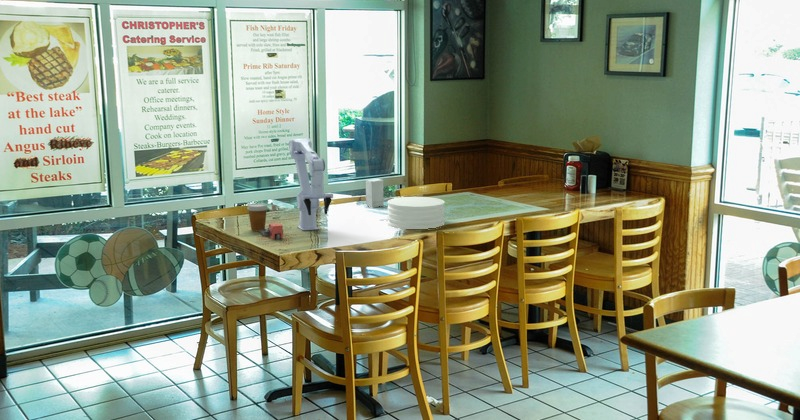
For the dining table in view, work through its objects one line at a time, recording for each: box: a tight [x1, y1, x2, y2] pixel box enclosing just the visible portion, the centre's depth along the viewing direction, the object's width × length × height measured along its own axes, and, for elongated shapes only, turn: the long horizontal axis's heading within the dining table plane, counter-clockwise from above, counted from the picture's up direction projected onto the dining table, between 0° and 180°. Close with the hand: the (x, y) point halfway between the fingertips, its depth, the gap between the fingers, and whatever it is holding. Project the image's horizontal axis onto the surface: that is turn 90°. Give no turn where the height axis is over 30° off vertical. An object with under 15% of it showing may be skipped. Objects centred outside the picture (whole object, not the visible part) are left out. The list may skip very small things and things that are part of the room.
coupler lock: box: [268, 222, 284, 240], centre depth 382 cm, size 7×5×6 cm, turn 22°
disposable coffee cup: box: [246, 202, 268, 232], centre depth 397 cm, size 10×10×12 cm
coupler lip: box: [260, 227, 281, 240], centre depth 385 cm, size 15×9×3 cm, turn 22°
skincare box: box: [365, 178, 385, 208], centre depth 458 cm, size 8×6×15 cm
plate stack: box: [387, 196, 446, 230], centre depth 412 cm, size 28×28×12 cm
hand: (317, 214), depth 387 cm, fingers open, 7 cm apart
